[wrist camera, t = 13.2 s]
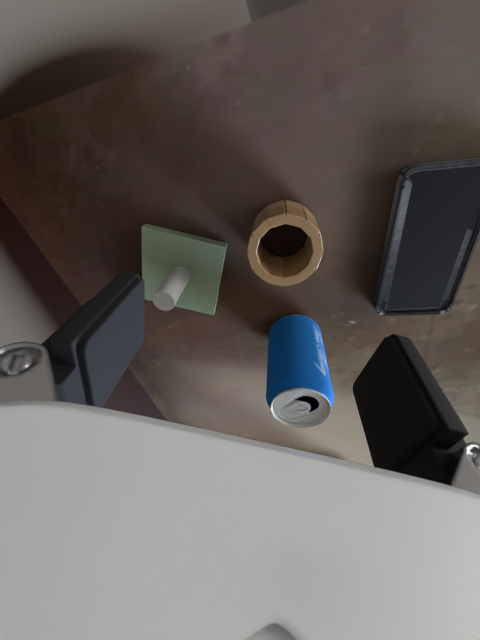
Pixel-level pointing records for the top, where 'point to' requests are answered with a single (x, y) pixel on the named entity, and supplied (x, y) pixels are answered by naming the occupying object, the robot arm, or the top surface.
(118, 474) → the robot arm
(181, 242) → the post stand
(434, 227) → the phone
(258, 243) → the ring
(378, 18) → the top surface
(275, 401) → the beverage can
